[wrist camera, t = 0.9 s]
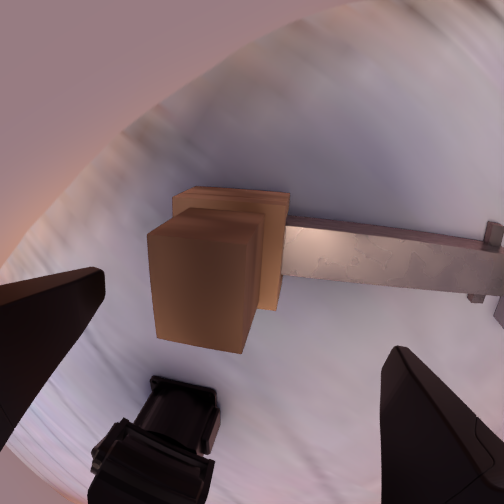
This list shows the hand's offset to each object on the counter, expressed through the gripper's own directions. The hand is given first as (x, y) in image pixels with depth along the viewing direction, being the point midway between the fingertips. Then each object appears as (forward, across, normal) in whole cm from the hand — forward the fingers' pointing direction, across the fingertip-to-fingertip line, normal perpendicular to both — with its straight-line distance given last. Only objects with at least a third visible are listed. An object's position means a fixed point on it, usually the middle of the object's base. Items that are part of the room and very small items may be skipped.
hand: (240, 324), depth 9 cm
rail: (+12, -6, +1) cm, 14 cm away
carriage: (+12, +2, +2) cm, 13 cm away
